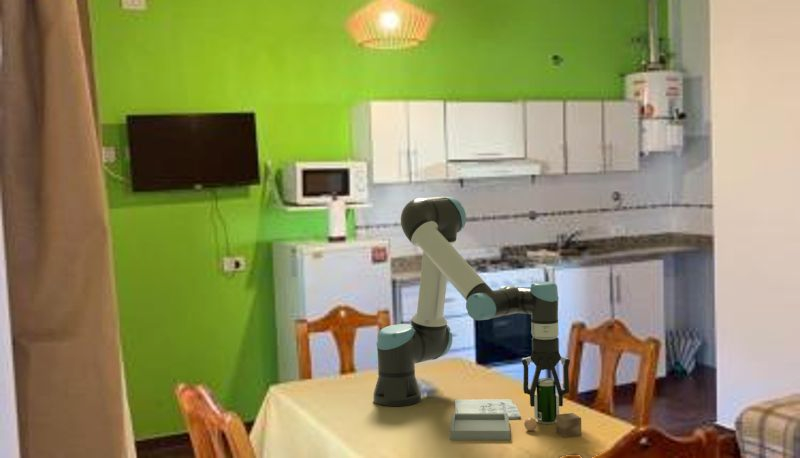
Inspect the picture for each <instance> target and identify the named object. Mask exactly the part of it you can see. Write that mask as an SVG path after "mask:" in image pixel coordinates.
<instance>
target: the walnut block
mask: <svg viewBox="0 0 800 458" xmlns="http://www.w3.org/2000/svg"><path fill="white" fill-rule="evenodd" d="M555 425H556V428H555V431H556V434H558V435H559V436H561V437H562V438H564V439H567V438H575V437H582V417H581V416H579V415H578V414H576V413H574V412H570V413H559V414H558V415H556V421H555Z"/></svg>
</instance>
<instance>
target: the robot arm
mask: <svg viewBox="0 0 800 458" xmlns="http://www.w3.org/2000/svg"><path fill="white" fill-rule="evenodd" d="M401 211H402V212H401V215H400V224H401V225H400V226H401V229H402V231H403V233H404V235H405V237H406V238H407V239H408V240H409V242H410V243H411V244H412V246H414V247H419V249H421V250H422V259H421V260H422V261H421V271H420V280H419V289H418V290H419V291H418V299H417V307H416V308H417V310H416V314H414V315H413V316H411V323H410V324H409V323H408V324H407V323H398V324H391V325H388V326H384V327H382V328H381V329H380V330H379V331H378V333H377V338H376V339H377V341H376V348H377V350H376V351H377V369H378V370H377V371H378V373H377V374H378V376H377V381H376V384H375V387H374V391H373V403H374V404H376V405H379V406H380V405H381V406H386V407H405V406H406V407H407V406H411V405H415V404H418V403H420V402H421V400H422V392H421V391H422V390H421V389H420V386H419V383H418V380H417V378H416V371H415V370H416V366H415V364H419V363H423V362H427V361H433V360H437V359H439V358H442V357H444V356H445V355H447V354H448V353H449V351H450V350H451V348H452V344H453V333H452V331H451V328H450V326H449V325H448V321H447V320H446V318H445V317H444V312H445V303H446V293H447V292H446V291H447V283H448V281H449V282H450V283H451V285H452V286H453V287H454V288H455V290H456V291H457V292H458V293H459V294H460V295H461V297H463V298H464V300H465V309H466V311H467V315H468V316H469V317H470V318H471V319H473V320H475V321H484V320H485V321H486V320H487V321H488V320H490V319H495V318H500V317H504V316H510V315H513V314H527V315H531V316H530V318H531V336H532V338H531V353H530V355H529V356H527V357H521V363H522V365H523V387H522V389H523V393H524V394H527V395H529V405H530V407H533V414H534V415H533V417H534V419H535V420H536V419H538V414H537V393H536V392H537V383H538V379H540V375H541V372H542V371H545V370H548V371H551V374H552V377H553V378H552V379H554V381H555V384H556V392H557V393H556V415H558V414H560V407H563V405H564V395H566V394H569V393H570V380H569V379H570V378H569V366H570V362H571V360H570V358H569V357H568V356H566V357H564V356H561V354H560V341H559V340H560V338H558V336H559V334H560V333H559V296H558V295H559V293H558V285H557V284H556V283H555V282H551V281H535V282H532V283H531V284H530V287H523V286H515V285H503V286H501V287H499V289H496V290H493V289H492V288H491V287H490V286H489V285H488V284H487V282H485V280H484V279H483V278H482V277H481V276H480V275H479V274H478V272H476V271H475V269H474V268H473V267H472V266H471V265H470V264H469V263H468V261H466V259H465V258H464V257H463V256H462V255H461V254H460V253H459V251H457V250H456V248H455V247H454V246H453V244H455V243H456V241H457V234H458V233H459V232H461V231H462V230H463V229H464V228H465V225H466V222H467V215H466V211H465V207H464V206H463V205H462V203H461V202H460V201H459V200H458V199H457V198H455V197H451V196H436V197H433V196H432V197H418V198H415V199H412V200H409V202H408V203H406V205H405V206H404V207H403V209H402V210H401ZM531 362H532V363H533V364H534V366H535V370H534V374H533V378H532V382H531V385H530V388H529V366H530V365H531ZM559 362H560V363H561V365H562V376H563V388H562V386H561V383H560V380H559V377H558V376H559V375H558V373H557V369H556V367H557V365H558V363H559Z"/></svg>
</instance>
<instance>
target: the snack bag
mask: <svg viewBox="0 0 800 458" xmlns="http://www.w3.org/2000/svg"><path fill="white" fill-rule="evenodd" d="M453 402H454V409H455V413H508V420H519V419H520V418H522V415H521V413H520V412H519V409H518V404H515V403H513V400H512V399H510V398H509V399H507V398H500V399H499V398H497V399H496V398H495V399H494V398H493V399H492V398H491V399H489V398H488V399H482V398H481V399H471V398H470V399H457V398H455V399H454V401H453Z"/></svg>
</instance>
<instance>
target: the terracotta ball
mask: <svg viewBox="0 0 800 458" xmlns="http://www.w3.org/2000/svg"><path fill="white" fill-rule="evenodd" d="M523 426H524V428H525V429H526V430H527V431H529V432H533V431H536V429H537V427H538V421H537V420H536V419H535V418H533V417H528V418H526V419H525V420H524V423H523Z"/></svg>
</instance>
